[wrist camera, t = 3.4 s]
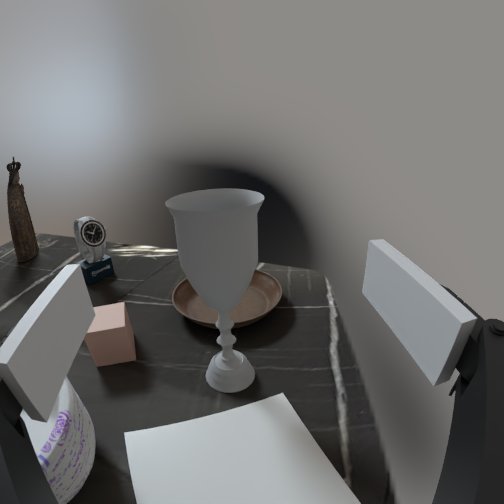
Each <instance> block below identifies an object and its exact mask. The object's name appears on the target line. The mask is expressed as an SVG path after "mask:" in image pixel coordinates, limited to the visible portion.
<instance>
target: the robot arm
mask: <svg viewBox="0 0 504 504" xmlns="http://www.w3.org/2000/svg"><path fill="white" fill-rule="evenodd" d="M362 293H363V294H364V295H365V296H366V298H367V299H368V300H369V301H370V303H371V304H372V305H373V306H374V308H375V309H376V310H377V312H378V313H379V314H380V315H381V316H382V318H383V319H384V320H385V322H386V323H387V324H388V326H389V327H390V328H391V329H392V331H393V332H394V333H395V335H396V336H397V337H398V339H399V340H400V341H401V342H402V344H403V345H404V346H405V348H406V349H407V350H408V352H409V353H410V354H411V356H412V357H413V358H414V360H415V361H416V363H417V364H418V365H419V367H420V368H421V369H422V371H423V372H424V373H425V375H426V376H427V378H428V379H429V380H430V382H431V383H432V385H433V386H436V385H439V384H441V383H443V382H446V381H448V380H449V379H450V377H451V376H452V374H453V371H454V370H455V368H456V369H457V370H458V371H459V373H460V375H459V376H458V378H457V380H456V382H455V384H454V386H453V388H452V389H451V391H450V394H449V395H450V396H451V395H452V394H453V392H454V391H455V390H456V393H455V402H454V410H453V417H452V423H451V429H450V435H449V440H448V446H447V451H446V455H445V459H444V464H443V468H442V472H441V476H440V479H439V483H438V486H437V490H436V493H435V496H434V500H433V503H432V504H504V322H502V321H500V320H497V319H488V320H486V321H485V320H483V318H482V317H480V316H479V315H478V314H477V313H476V312H475V311H474V310H473V309H472V308H471V307H469V306H468V305H467V304H466V303H464V302H463V300H462V299H460V298H459V297H457V295H456V294H455V293H453V292H452V291H451V290H450V289H448V288H446V287H444V286H442V285H440V284H438V283H437V282H436V281H435V280H433V279H432V278H431V277H430V276H429V275H427V274H426V273H425V272H424V271H423V270H421V269H420V268H419V267H418V266H416V265H415V264H414V263H413V262H411V261H410V260H409V259H408V258H406V257H405V256H404V255H403V254H401V253H400V252H399V251H398V250H396V249H395V248H394V247H392V246H391V245H390V244H388V243H387V242H386V241H385V240H383V239H381V240H369V246H368V254H367V262H366V269H365V277H364V283H363V290H362ZM95 316H96V315H95V312H94V309H93V306H92V303H91V300H90V297H89V293H88V290H87V287H86V284H85V280H84V277H83V273H82V270H81V266H80V264H74V265H66V266H65V267H64V268H63V270H62V271H61V272H60V273H59V274H58V275H57V276H56V277H55V279H54V280H53V281H52V282H51V283H50V284H49V285H48V287H47V288H46V289H45V290H44V291H43V293H42V294H41V295H40V296H39V297H38V299H37V300H36V301H35V302H34V304H33V305H32V306H31V307H30V309H29V310H28V311H27V312H26V314H25V315H24V316H23V317H22V319H21V320H20V321H19V322H18V323H17V324H16V325H15V326H14V327H12V329H11V330H10V331H9V333H8V334H7V335H6V338H4V339H3V341H2V342H1V344H0V504H59V503H58V501H57V499H56V497H55V495H54V493H53V491H52V489H51V487H50V485H49V483H48V481H47V479H46V477H45V474H44V472H43V470H42V467H41V465H40V463H39V460H38V458H37V455H36V453H35V450H34V448H33V445H32V442H31V439H30V437H29V434H28V431H27V428H26V425H25V422H24V420H23V418H22V417H21V416H20V414H21V412H22V410H23V409H24V411H25V412H26V413H27V415H28V416H29V417H30V418H31V419H32V420H36V421H41V422H45V423H47V422H48V419H49V417H50V414H51V411H52V409H53V406H54V404H55V401H56V399H57V397H58V394H59V392H60V389H61V387H62V385H63V382H64V380H65V378H66V376H67V373H68V371H69V369H70V367H71V364H72V362H73V360H74V358H75V356H76V354H77V352H78V349H79V347H80V345H81V343H82V341H83V339H84V337H85V335H86V333H87V331H88V329H89V327H90V325H91V323H92V321H93V319H94V317H95Z"/></svg>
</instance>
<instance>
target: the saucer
mask: <svg viewBox="0 0 504 504" xmlns="http://www.w3.org/2000/svg"><path fill="white" fill-rule="evenodd" d="M281 296H282V288H281V285H280V283H279V282H278V281H277V280H276V279H275V278H274V277H273V276H271V275H270V274H268V273H266V272H263V271H260V270H257V269H255V271H254V274H253V277H252V279H251V282H250V284H249V286H248V287H247V289H246V291H245V293H244V295H243V297H242V299H241V301H240V302H239V304H238V305H237V306H236V307H235V308H233V309H230V310H229V315H230V318H231V320H232V321H233V322H234V325H233V327H232V328H231V329H234V328H240V327H244V326H247V325H250V324H252V323H254V322H256V321H258V320H260V319H261V318H263V317H264V316H266V315H267V314H268V313H269V312H270V311H272V310H273V308H274V307H275V306H276V305H277V304H278V302H279V301H280V299H281ZM172 302H173V305H174V307H175V308H176V309H177V310H178V311H179V312H180V313H181V314H182V315H183V316H185V317H186V318H187V319H189V320H191V321H192V322H194V323H197V324H199V325H202V326H205V327H209V328H214V329H219V328H217V327H216V322H217V321H218V311H217V310H213V309H210V308H209V307H208V306H207V305H206V304H205V303H204V301H203V300H202V299H201V298H200V296H199V295H198V294H197V292H196V291H195V290H194V288H193V287H192V286H191V284H190V282H189V280H188V279H187V278H185V279H184V280H183V281H181V282H180V283H179V284H178V285H177V286H176V288H175V289H174V291H173V294H172Z"/></svg>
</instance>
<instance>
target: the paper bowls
mask: <svg viewBox="0 0 504 504" xmlns="http://www.w3.org/2000/svg"><path fill="white" fill-rule="evenodd" d="M20 416H21V417H22V418H23V420H24V422H25V425H26V428H27V431H28V434H29V437H30V439H31V442H32V445H33V448H34V450H35V453H36V455H37V458H38V460H39V463H40V465H41V467H42V470H43V472H44V474H45V477H46V479H47V481H48V483H49V485H50V487H51V489H52V491H53V493H54V495H55V497H56V499H57V501H58V503H59V504H67V503H68V502H69V501H70V500H71V499H72V498H73V497H74V496H75V495H76V494H77V493H78V492H79V490H80V489H81V488H82V486H83V484H84V482H85V480H86V479H87V477H88V475H89V473H90V470H91V468H92V466H93V462H94V457H95V445H96V440H95V432H94V427H93V423H92V421H91V418H90V416H89V414H88V412H87V410H86V408H85V407H84V405H83V403H82V402H81V400H80V398H79V396H78V395H77V393H76V392H75V390H74V388H73V387H72V385H71V384H70V382H69V380H68V378H67V376H66V378H65V380H64V382H63V385H62V387H61V389H60V392H59V394H58V397H57V399H56V401H55V404H54V406H53V409H52V411H51V414H50V417H49V419H48V422H47V423H45V422H41V421H36V420H32V419H31V418H30V417H29V416H28V415H27V413H26V412H25V411H24V409H23V410H22V412H21V414H20Z"/></svg>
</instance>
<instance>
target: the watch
mask: <svg viewBox="0 0 504 504" xmlns="http://www.w3.org/2000/svg"><path fill="white" fill-rule="evenodd" d="M74 234H75V240H76V243H77V246H78V248H79V252H80V253H81V255H82V256H83V257H84V258H85V259H84V260H81V261H79V262H77V263H76V264H80V266H81V270H82V273H83V277H84V280H85V282H86V283H88V284H89V285H91V284H93V283H95V282H97V281H99V280H101V279H103V278H105V277H107V276H109V275H111V274H113V273H114V269H113V265H112V261H111V257H109V256H107V255H105V254H104V248H105V247H106V241H105V239H106V228H105V227H104V226H103V225H102V224H101V223H100V222H98V221H96V220H95V219H94V218H93V217H92V218H91V217H89V216H86V217H83V218H80V219H78V220H75V222H74Z"/></svg>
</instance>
